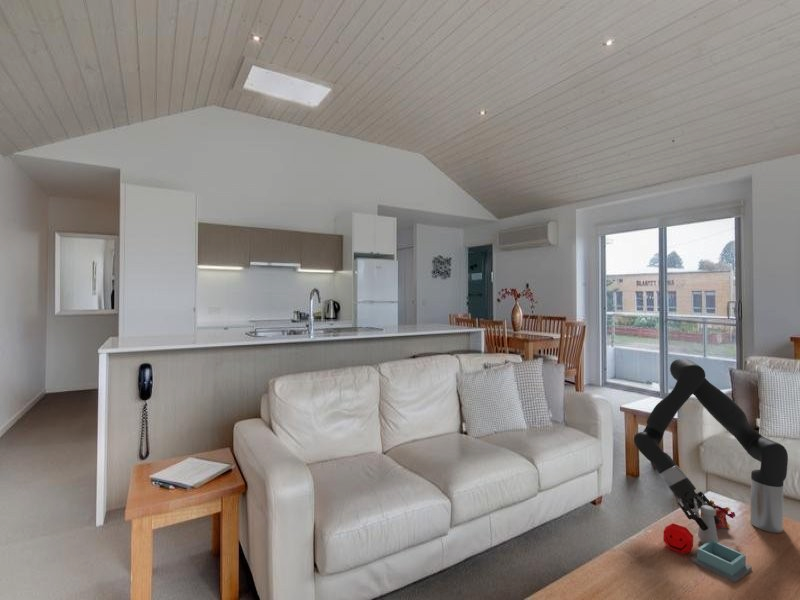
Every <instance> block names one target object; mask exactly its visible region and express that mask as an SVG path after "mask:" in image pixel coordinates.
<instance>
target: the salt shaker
mask: <svg viewBox="0 0 800 600" xmlns="http://www.w3.org/2000/svg"><path fill="white" fill-rule="evenodd" d="M701 512H702V513H703V514H702V520H703V521H704V522H705V523H706V525H707V526H708V528H709V529H707V530H705V531H703V530H702V529H701V528H700V527H698V532H697V537H698V538H699V540H700V542H701V544H702V545H704V544H705V543H707V542H709V541H710V540H713V541H715V542H717V543H719V537H718V531H717V529H716V526H715V521H714V516H715V514H716V511H715V509H714V508H713V507H711V506H707V505H703V506H701V510H700V513H701Z"/></svg>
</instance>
